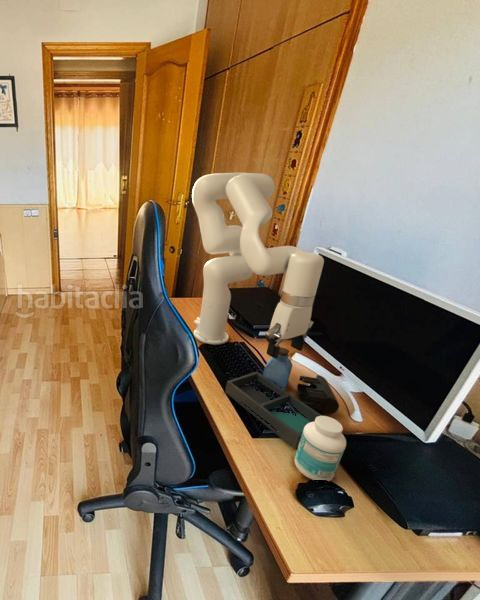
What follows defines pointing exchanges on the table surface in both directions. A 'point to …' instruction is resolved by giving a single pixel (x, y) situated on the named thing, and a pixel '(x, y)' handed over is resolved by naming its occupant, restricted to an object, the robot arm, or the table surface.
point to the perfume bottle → (279, 368)
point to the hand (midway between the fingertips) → (284, 352)
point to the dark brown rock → (317, 395)
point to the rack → (260, 404)
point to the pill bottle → (320, 448)
